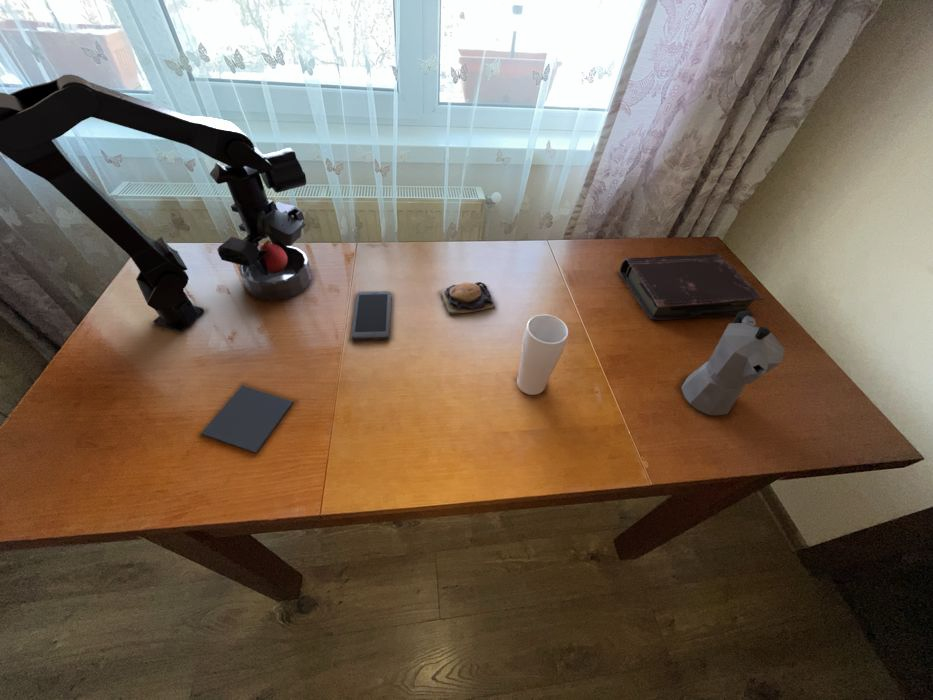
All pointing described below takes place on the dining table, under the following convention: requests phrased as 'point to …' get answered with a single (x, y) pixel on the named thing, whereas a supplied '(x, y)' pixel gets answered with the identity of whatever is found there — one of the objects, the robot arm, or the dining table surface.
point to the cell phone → (371, 315)
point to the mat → (248, 419)
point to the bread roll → (467, 298)
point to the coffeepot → (733, 365)
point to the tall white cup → (540, 352)
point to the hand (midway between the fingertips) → (275, 266)
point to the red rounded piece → (274, 257)
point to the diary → (687, 286)
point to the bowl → (279, 278)
